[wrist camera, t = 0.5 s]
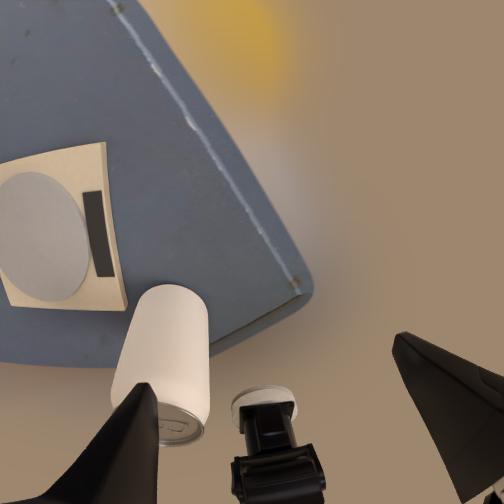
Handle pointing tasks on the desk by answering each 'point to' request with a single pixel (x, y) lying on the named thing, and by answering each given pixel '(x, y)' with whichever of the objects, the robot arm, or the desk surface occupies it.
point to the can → (169, 361)
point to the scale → (60, 232)
